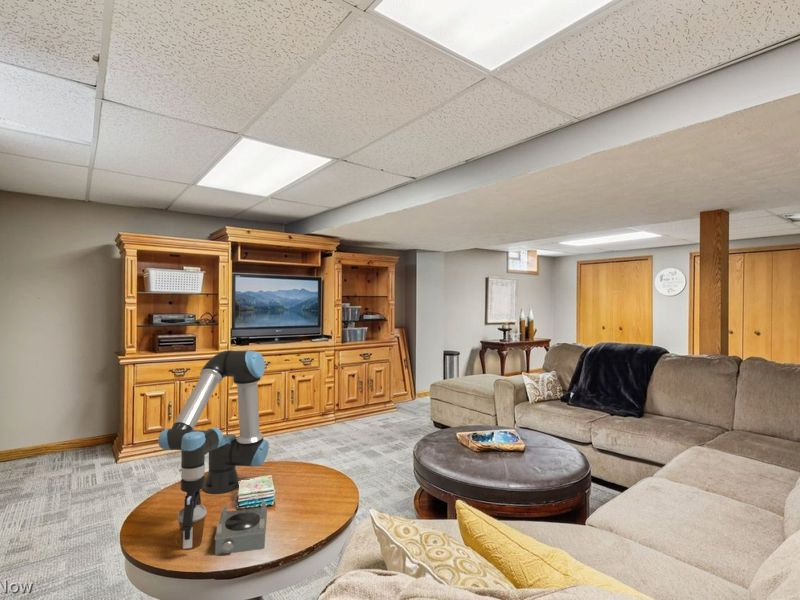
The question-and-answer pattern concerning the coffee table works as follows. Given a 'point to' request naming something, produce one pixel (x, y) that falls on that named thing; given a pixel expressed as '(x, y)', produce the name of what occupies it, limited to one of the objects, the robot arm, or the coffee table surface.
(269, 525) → the coffee table surface
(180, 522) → the disposable coffee cup
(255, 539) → the hot plate
